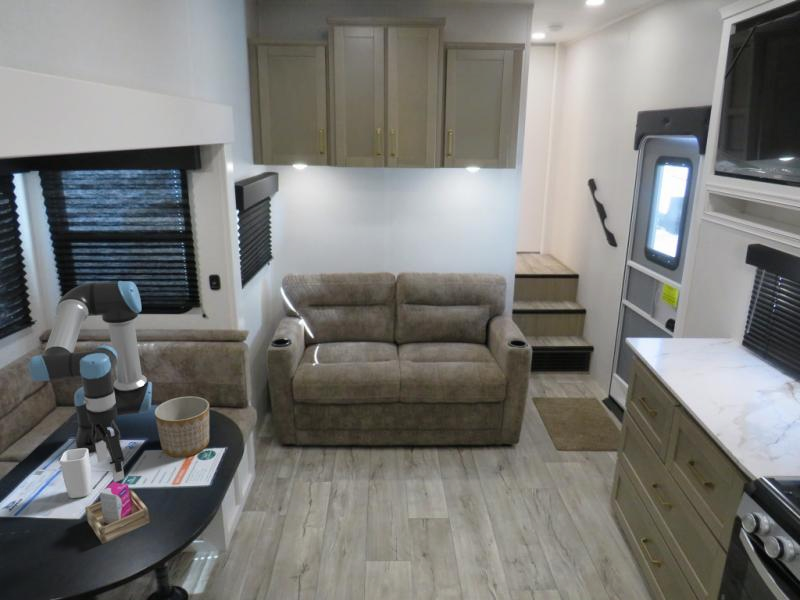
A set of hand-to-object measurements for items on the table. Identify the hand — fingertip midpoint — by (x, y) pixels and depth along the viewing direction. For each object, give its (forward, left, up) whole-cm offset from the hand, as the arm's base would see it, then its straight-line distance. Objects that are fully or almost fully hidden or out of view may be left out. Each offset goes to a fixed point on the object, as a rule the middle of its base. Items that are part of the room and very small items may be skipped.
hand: (110, 469), depth 164 cm
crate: (0, 0, -18) cm, 19 cm away
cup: (-23, -4, -19) cm, 30 cm away
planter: (-27, +34, -19) cm, 47 cm away
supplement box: (0, 0, -18) cm, 18 cm away
